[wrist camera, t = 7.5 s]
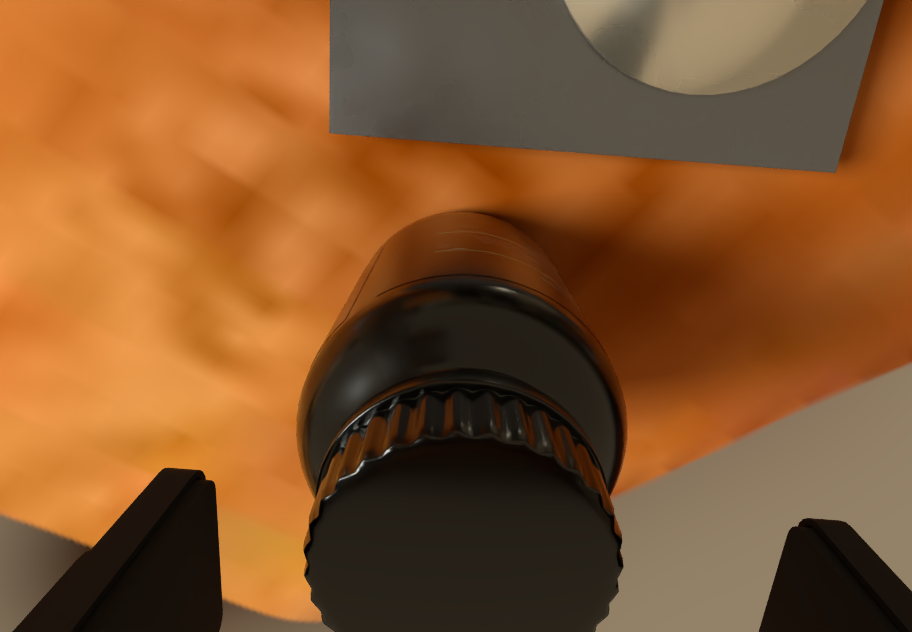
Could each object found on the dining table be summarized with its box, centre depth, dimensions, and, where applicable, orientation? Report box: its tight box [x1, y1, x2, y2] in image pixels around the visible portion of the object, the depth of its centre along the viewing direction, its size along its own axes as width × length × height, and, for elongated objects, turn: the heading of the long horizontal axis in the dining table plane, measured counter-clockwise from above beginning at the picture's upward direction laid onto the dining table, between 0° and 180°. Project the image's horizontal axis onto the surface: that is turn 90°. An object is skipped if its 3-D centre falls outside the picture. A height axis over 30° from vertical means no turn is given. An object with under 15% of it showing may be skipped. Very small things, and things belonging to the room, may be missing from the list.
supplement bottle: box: [296, 212, 627, 632], centre depth 15 cm, size 7×7×12 cm
